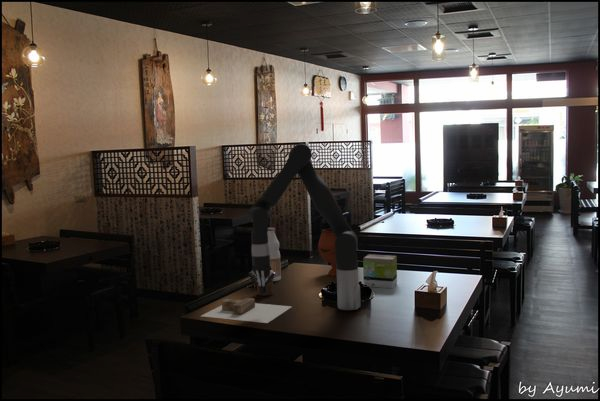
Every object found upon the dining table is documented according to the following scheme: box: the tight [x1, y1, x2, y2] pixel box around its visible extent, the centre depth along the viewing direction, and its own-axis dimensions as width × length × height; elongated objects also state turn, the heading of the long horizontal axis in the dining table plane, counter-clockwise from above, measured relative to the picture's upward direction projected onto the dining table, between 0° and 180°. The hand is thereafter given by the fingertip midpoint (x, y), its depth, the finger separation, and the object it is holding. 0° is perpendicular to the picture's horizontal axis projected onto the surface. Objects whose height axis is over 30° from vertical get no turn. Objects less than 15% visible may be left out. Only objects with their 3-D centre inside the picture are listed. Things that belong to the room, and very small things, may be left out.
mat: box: [200, 302, 293, 324], centre depth 233 cm, size 32×24×1 cm
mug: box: [256, 274, 274, 297], centre depth 259 cm, size 12×8×9 cm, turn 175°
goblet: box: [317, 227, 337, 277], centre depth 297 cm, size 19×19×25 cm
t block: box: [221, 297, 256, 315], centre depth 236 cm, size 12×12×4 cm
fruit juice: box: [267, 227, 282, 282], centre depth 289 cm, size 9×9×28 cm
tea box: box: [362, 254, 398, 289], centre depth 269 cm, size 15×10×15 cm
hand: (263, 294), depth 229 cm, fingers closed
